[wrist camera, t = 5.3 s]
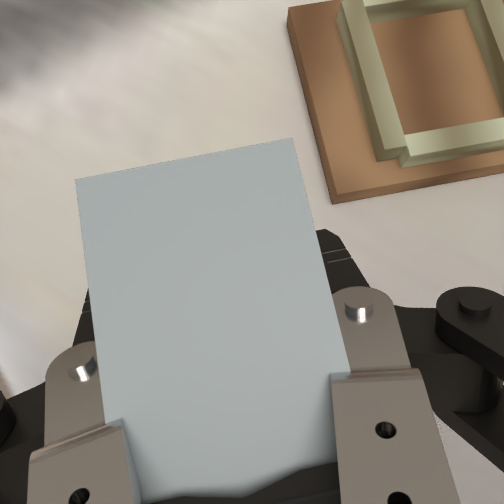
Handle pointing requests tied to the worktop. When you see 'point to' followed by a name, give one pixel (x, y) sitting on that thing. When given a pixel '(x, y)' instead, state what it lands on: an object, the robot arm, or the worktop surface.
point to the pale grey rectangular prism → (212, 320)
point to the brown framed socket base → (402, 91)
